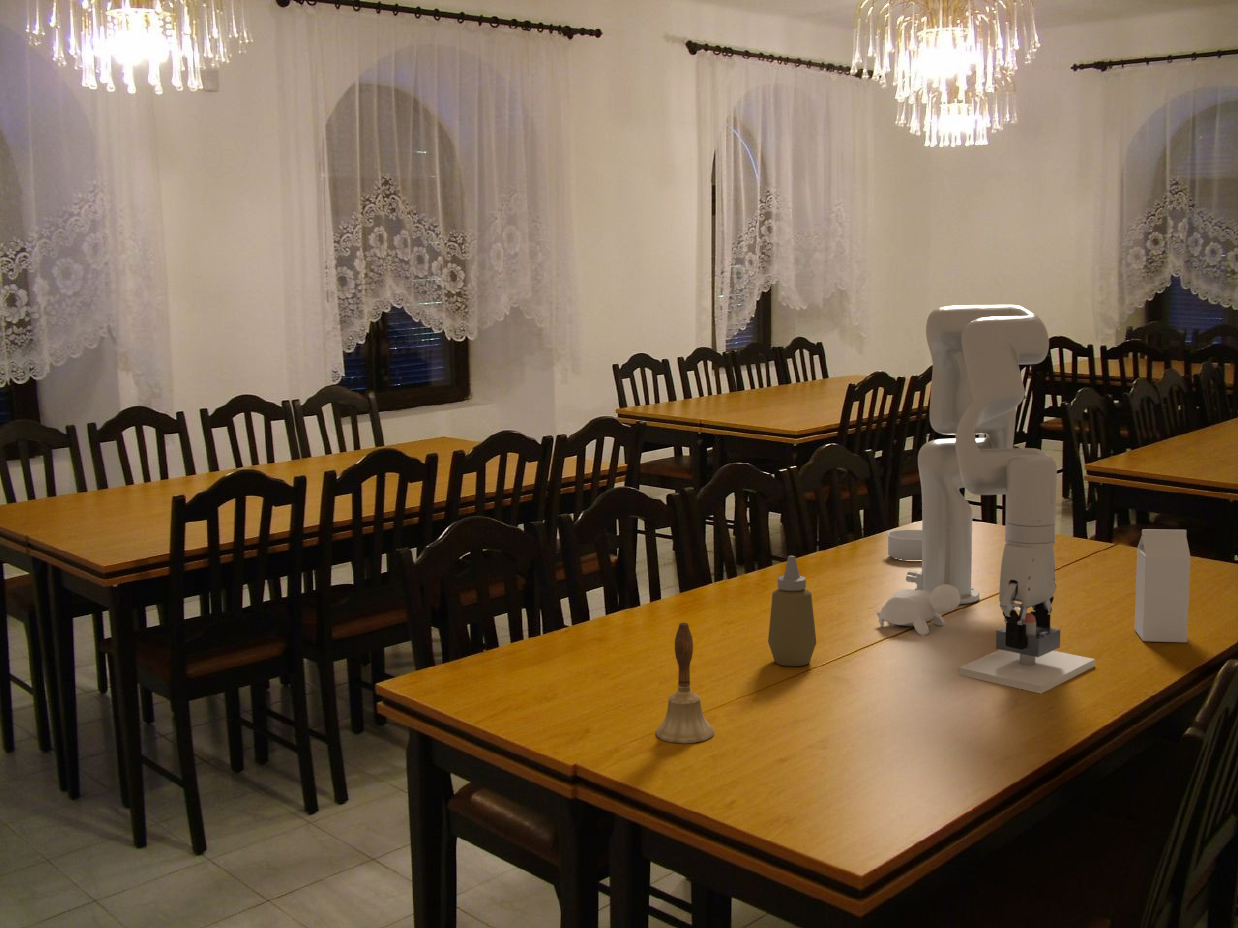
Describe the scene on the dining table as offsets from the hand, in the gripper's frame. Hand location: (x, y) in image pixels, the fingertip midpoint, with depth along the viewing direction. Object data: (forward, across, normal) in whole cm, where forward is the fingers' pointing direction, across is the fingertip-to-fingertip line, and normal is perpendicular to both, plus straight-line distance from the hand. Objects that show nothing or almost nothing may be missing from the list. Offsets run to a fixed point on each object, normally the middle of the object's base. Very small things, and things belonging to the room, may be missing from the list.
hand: (1027, 641), depth 198 cm
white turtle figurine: (+5, -10, -26) cm, 29 cm away
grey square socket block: (+1, 0, 0) cm, 1 cm away
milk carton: (+5, -32, +8) cm, 33 cm away
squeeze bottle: (+5, +21, -31) cm, 38 cm away
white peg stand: (+5, 0, 0) cm, 5 cm away
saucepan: (+5, -58, -54) cm, 80 cm away
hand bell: (+5, +57, -22) cm, 61 cm away
